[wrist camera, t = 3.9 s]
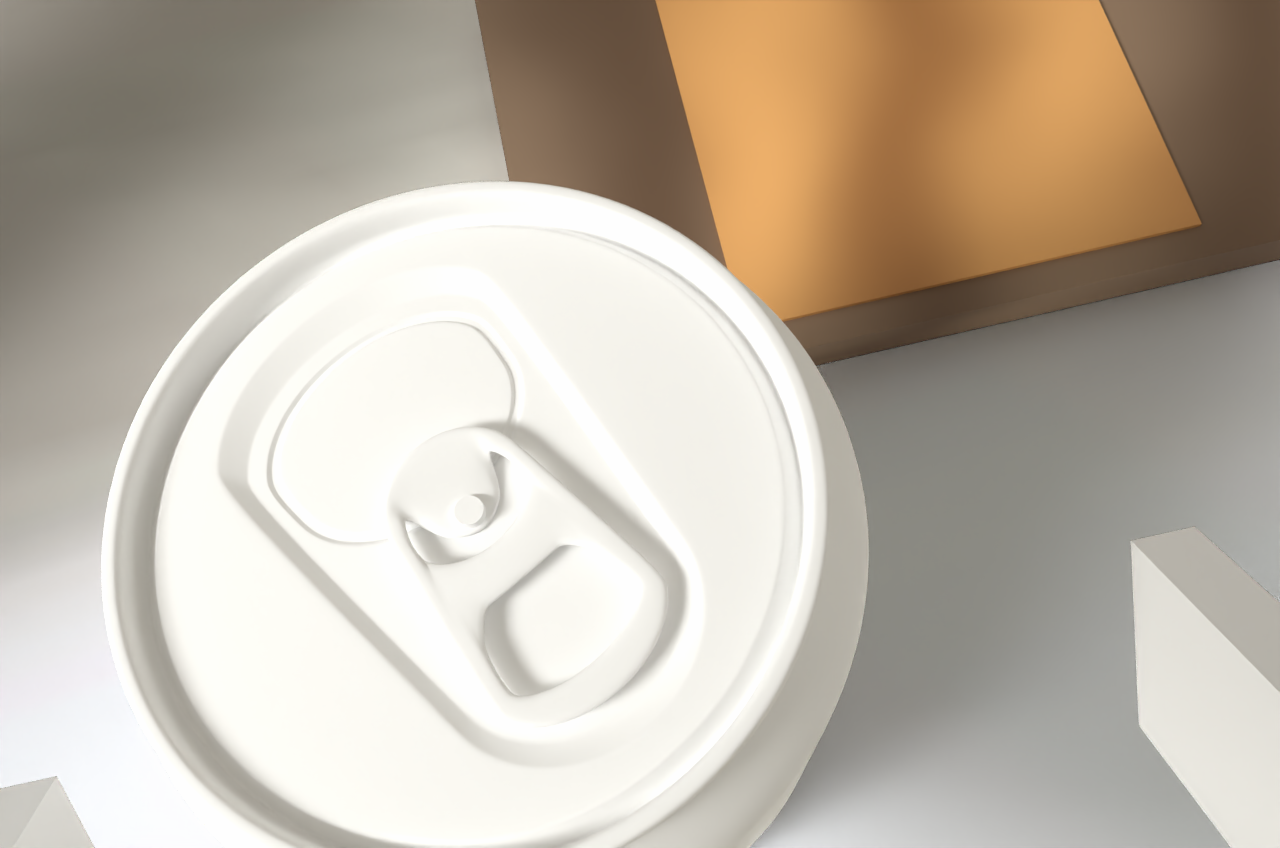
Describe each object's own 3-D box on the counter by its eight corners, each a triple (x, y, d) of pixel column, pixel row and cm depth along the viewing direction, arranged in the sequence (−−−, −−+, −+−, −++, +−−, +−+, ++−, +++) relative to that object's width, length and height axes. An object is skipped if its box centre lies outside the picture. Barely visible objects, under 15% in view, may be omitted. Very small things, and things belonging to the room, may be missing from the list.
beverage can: (632, 408, 24) (523, 17, 13) (908, 698, 21) (1073, 522, 10) (328, 661, 23) (-89, 469, 11) (581, 1005, 20) (357, 1192, 9)
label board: (560, 423, 24) (551, 404, 23) (483, 25, 28) (473, -7, 27) (1391, 233, 24) (1419, 205, 23) (1191, -142, 28) (1207, -180, 27)
